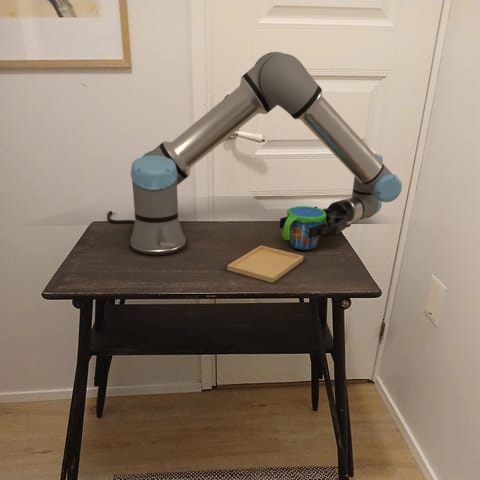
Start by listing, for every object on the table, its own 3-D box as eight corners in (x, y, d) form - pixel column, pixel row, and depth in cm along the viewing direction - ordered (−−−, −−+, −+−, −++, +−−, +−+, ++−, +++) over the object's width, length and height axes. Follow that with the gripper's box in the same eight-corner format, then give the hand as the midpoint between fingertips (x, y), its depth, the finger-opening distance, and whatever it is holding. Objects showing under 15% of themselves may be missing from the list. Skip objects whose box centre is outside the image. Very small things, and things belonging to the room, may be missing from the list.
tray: (227, 270, 124) (227, 265, 123) (260, 249, 137) (261, 245, 136) (272, 282, 118) (273, 278, 117) (303, 260, 131) (303, 255, 130)
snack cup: (311, 235, 146) (315, 202, 141) (336, 247, 139) (340, 212, 134) (270, 245, 139) (272, 210, 133) (293, 257, 131) (296, 221, 126)
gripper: (373, 234, 141) (325, 253, 128) (313, 215, 155) (265, 230, 142) (378, 209, 137) (329, 225, 124) (316, 192, 151) (266, 205, 138)
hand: (295, 228), depth 133 cm, fingers closed on snack cup, 10 cm apart
